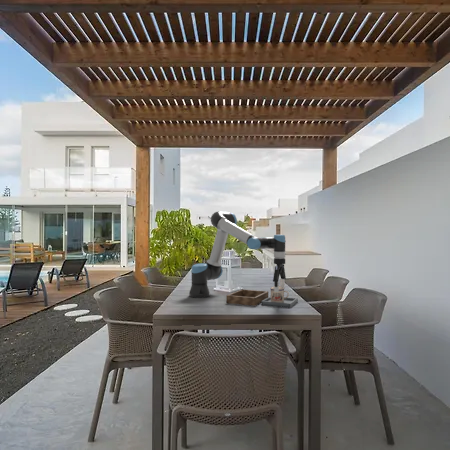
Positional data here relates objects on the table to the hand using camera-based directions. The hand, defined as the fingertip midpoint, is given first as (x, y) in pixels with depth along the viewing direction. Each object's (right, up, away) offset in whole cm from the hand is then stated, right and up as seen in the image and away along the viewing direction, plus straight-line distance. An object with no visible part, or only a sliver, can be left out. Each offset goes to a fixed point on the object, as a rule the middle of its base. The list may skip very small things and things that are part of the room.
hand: (279, 290), depth 226 cm
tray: (0, -9, 0) cm, 9 cm away
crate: (-20, -9, +9) cm, 24 cm away
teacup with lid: (0, -8, 0) cm, 8 cm away
